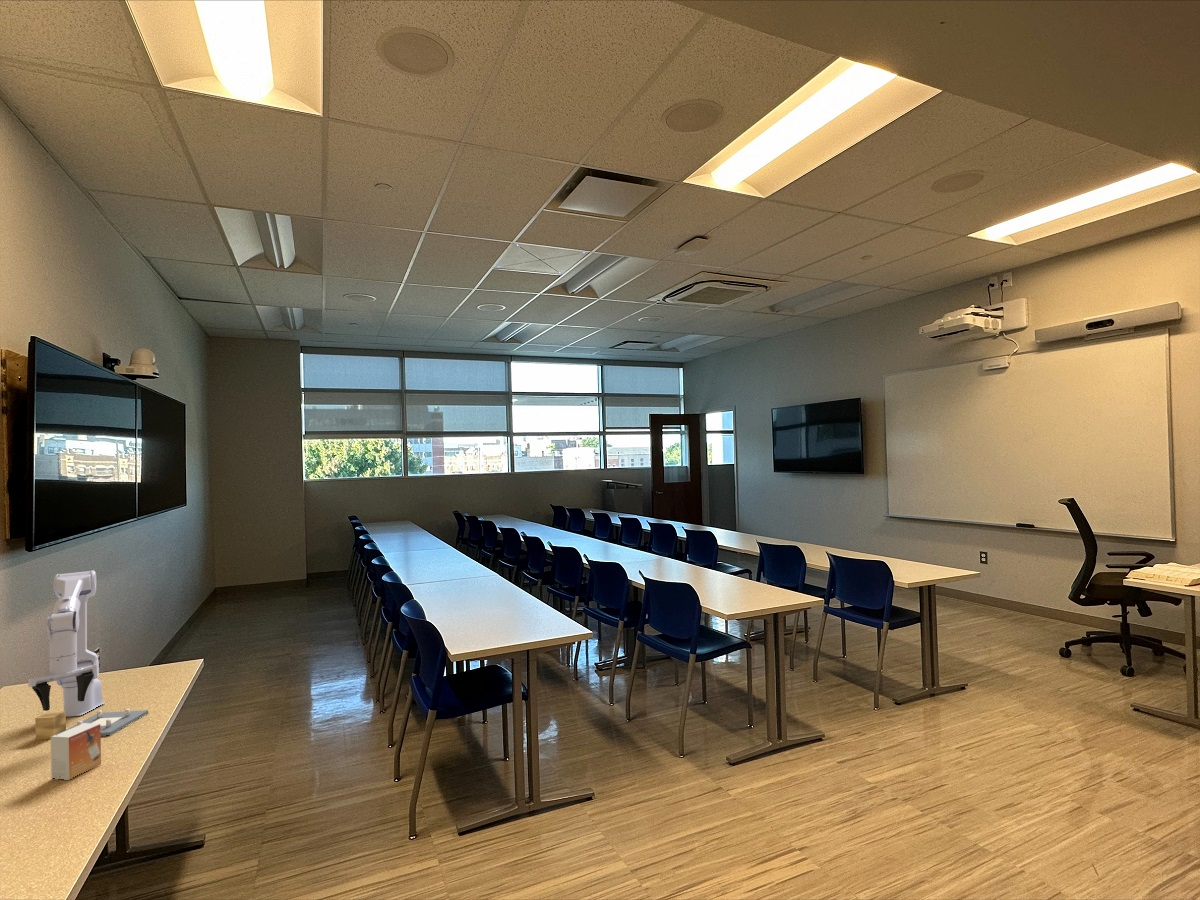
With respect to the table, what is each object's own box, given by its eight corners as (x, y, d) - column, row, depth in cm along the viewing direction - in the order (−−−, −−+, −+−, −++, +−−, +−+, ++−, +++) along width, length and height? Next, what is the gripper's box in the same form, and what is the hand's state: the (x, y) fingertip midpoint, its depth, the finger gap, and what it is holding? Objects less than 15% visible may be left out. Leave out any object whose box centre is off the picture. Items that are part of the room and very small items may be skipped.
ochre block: (48, 733, 173) (47, 712, 173) (66, 732, 174) (65, 711, 174) (35, 739, 169) (35, 718, 169) (54, 738, 170) (53, 717, 170)
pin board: (98, 716, 184) (98, 706, 184) (148, 713, 185) (148, 703, 185) (56, 738, 169) (55, 728, 169) (110, 735, 170) (110, 725, 170)
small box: (68, 781, 145) (67, 737, 145) (50, 779, 146) (49, 736, 146) (102, 764, 153) (101, 723, 153) (84, 763, 154) (83, 722, 154)
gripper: (35, 663, 160) (36, 715, 158) (101, 649, 172) (102, 697, 171) (24, 662, 163) (25, 713, 162) (90, 649, 176) (90, 696, 174)
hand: (63, 705), depth 167 cm, fingers open, 7 cm apart
